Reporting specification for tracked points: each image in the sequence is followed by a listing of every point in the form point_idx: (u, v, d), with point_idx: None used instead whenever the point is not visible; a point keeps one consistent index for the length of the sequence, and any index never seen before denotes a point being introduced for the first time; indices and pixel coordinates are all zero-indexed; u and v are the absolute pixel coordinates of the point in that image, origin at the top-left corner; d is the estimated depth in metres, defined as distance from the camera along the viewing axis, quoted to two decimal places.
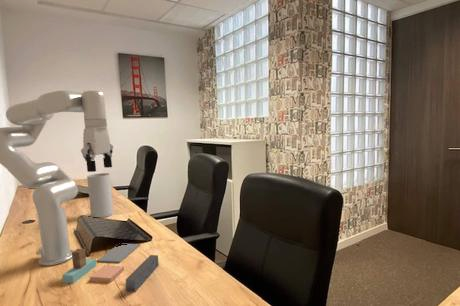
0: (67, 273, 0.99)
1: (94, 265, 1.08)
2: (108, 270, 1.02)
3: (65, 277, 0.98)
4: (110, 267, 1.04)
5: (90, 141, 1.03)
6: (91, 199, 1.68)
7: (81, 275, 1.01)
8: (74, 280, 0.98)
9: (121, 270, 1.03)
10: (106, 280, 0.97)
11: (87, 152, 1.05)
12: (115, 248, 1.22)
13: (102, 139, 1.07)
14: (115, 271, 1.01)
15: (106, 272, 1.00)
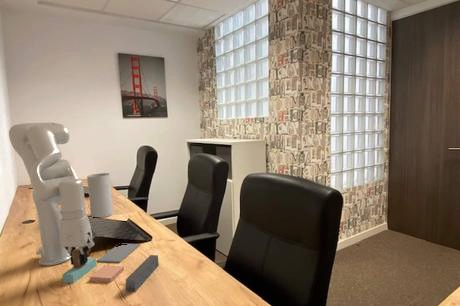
0: (67, 272, 0.99)
1: (94, 264, 1.08)
2: (108, 270, 1.02)
3: (65, 276, 0.98)
4: (110, 267, 1.04)
5: (89, 230, 1.02)
6: (91, 199, 1.68)
7: (81, 274, 1.01)
8: (74, 279, 0.98)
9: (121, 270, 1.03)
10: (106, 280, 0.97)
11: None
12: (115, 248, 1.22)
13: None
14: (115, 271, 1.01)
15: (106, 272, 1.00)
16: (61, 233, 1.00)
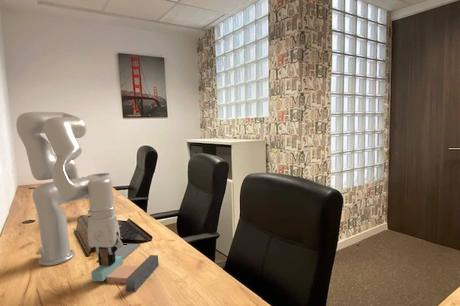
0: (95, 270, 0.96)
1: (121, 263, 1.06)
2: (124, 270, 1.01)
3: (94, 274, 0.95)
4: (126, 267, 1.03)
5: (118, 229, 0.99)
6: None
7: (109, 272, 0.99)
8: (103, 277, 0.95)
9: None
10: (122, 280, 0.96)
11: None
12: None
13: None
14: (131, 271, 1.00)
15: (123, 272, 0.99)
16: (89, 233, 0.98)
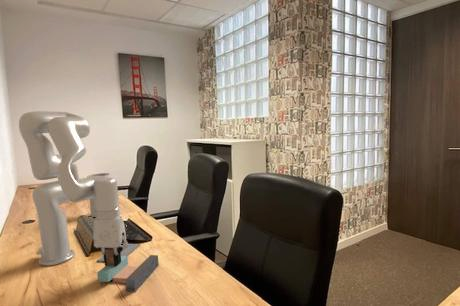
0: (101, 271, 0.96)
1: (126, 263, 1.05)
2: (130, 270, 1.01)
3: (100, 275, 0.95)
4: (132, 268, 1.03)
5: (123, 230, 0.99)
6: (91, 199, 1.68)
7: (115, 273, 0.98)
8: (109, 278, 0.95)
9: None
10: None
11: None
12: None
13: None
14: None
15: (129, 273, 0.99)
16: (95, 233, 0.97)
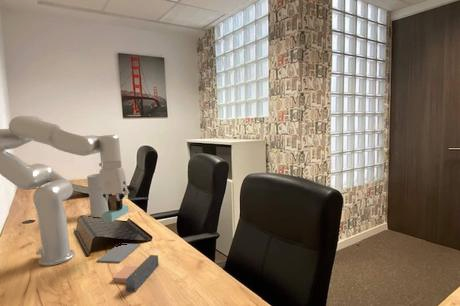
0: (106, 213, 1.13)
1: (127, 210, 1.22)
2: (130, 270, 1.01)
3: (104, 216, 1.12)
4: (132, 268, 1.03)
5: (124, 179, 1.16)
6: (91, 199, 1.68)
7: (117, 216, 1.15)
8: (112, 218, 1.12)
9: None
10: None
11: None
12: (115, 248, 1.22)
13: None
14: None
15: (129, 273, 0.99)
16: (100, 182, 1.14)
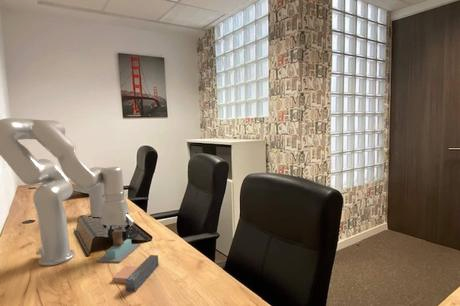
0: (109, 249, 1.14)
1: (130, 244, 1.24)
2: (130, 270, 1.01)
3: (108, 253, 1.13)
4: (132, 268, 1.03)
5: (127, 211, 1.17)
6: (91, 199, 1.68)
7: (121, 252, 1.17)
8: (116, 255, 1.13)
9: None
10: None
11: None
12: None
13: None
14: None
15: (129, 273, 0.99)
16: (103, 213, 1.15)
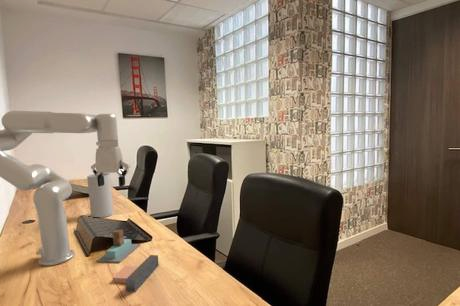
0: (109, 249, 1.14)
1: (130, 244, 1.24)
2: (129, 270, 1.01)
3: (108, 253, 1.13)
4: (132, 268, 1.03)
5: (121, 159, 1.16)
6: (91, 199, 1.68)
7: (121, 252, 1.17)
8: (116, 255, 1.13)
9: None
10: None
11: None
12: None
13: None
14: None
15: (129, 273, 0.99)
16: (97, 160, 1.14)
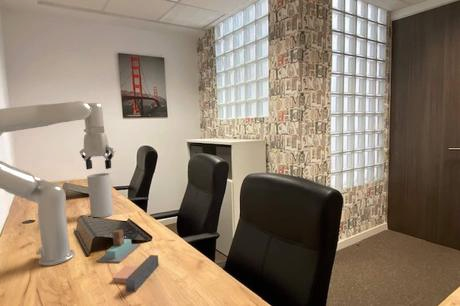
0: (109, 249, 1.14)
1: (130, 244, 1.24)
2: (129, 270, 1.01)
3: (108, 253, 1.13)
4: (131, 268, 1.03)
5: (107, 144, 1.28)
6: (91, 199, 1.68)
7: (121, 252, 1.17)
8: (116, 255, 1.13)
9: None
10: None
11: None
12: None
13: None
14: None
15: (129, 273, 0.99)
16: (85, 145, 1.26)
